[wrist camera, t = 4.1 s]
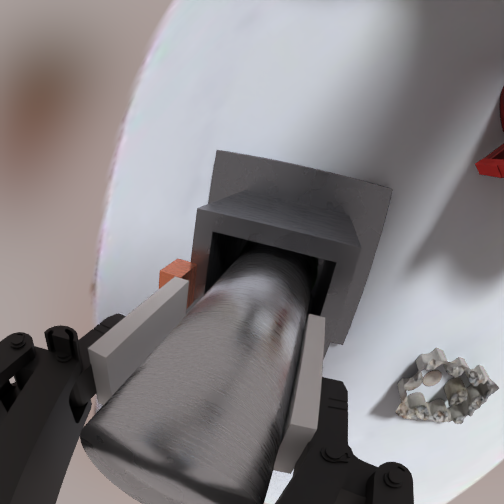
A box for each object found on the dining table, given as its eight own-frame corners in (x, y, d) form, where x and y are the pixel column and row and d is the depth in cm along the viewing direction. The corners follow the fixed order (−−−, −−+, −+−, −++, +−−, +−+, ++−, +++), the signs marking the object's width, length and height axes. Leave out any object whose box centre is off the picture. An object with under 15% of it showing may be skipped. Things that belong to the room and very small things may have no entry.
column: (257, 212, 24) (51, 376, 5) (326, 229, 23) (300, 481, 4) (244, 281, 26) (97, 485, 7) (308, 298, 25) (246, 546, 6)
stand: (220, 150, 24) (136, 147, 13) (389, 188, 22) (443, 215, 11) (199, 299, 29) (131, 374, 18) (342, 338, 26) (341, 439, 15)
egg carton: (386, 389, 27) (390, 416, 24) (430, 336, 25) (441, 360, 21) (450, 413, 26) (457, 437, 22) (492, 367, 24) (504, 390, 20)
